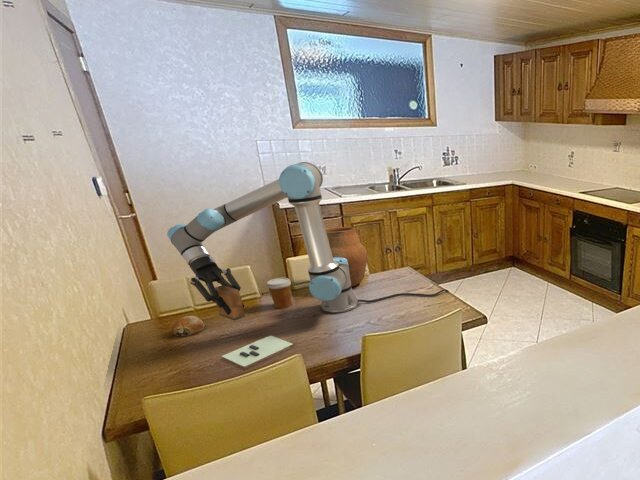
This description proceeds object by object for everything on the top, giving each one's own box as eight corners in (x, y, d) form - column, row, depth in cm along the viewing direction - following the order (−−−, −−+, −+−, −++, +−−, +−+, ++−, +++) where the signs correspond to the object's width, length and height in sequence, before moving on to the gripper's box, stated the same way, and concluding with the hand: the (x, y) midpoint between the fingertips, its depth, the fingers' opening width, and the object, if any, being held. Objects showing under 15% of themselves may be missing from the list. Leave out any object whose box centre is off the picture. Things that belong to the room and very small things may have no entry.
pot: (365, 274, 236) (358, 220, 225) (376, 288, 217) (368, 230, 206) (317, 281, 223) (307, 226, 213) (324, 297, 205) (314, 236, 194)
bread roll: (208, 337, 174) (212, 318, 174) (181, 338, 164) (185, 317, 164) (191, 333, 177) (195, 314, 177) (164, 334, 167) (168, 313, 167)
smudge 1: (243, 352, 154) (242, 351, 154) (249, 355, 152) (249, 354, 152) (239, 354, 153) (239, 353, 153) (246, 357, 151) (246, 355, 151)
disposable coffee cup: (284, 310, 190) (279, 285, 186) (266, 308, 192) (260, 283, 188) (299, 302, 199) (295, 278, 195) (282, 300, 201) (277, 276, 196)
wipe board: (271, 337, 167) (270, 335, 166) (294, 346, 161) (293, 343, 160) (221, 359, 152) (221, 356, 152) (245, 369, 146) (244, 366, 145)
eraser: (230, 311, 165) (223, 284, 161) (245, 316, 161) (238, 289, 157) (219, 315, 162) (211, 288, 158) (234, 320, 158) (227, 293, 154)
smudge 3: (253, 352, 154) (252, 350, 154) (259, 355, 153) (259, 353, 152) (249, 353, 153) (249, 352, 153) (256, 356, 152) (255, 355, 151)
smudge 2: (252, 346, 158) (252, 344, 158) (259, 348, 157) (258, 347, 156) (249, 347, 157) (248, 346, 157) (255, 350, 156) (255, 348, 155)
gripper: (222, 260, 169) (256, 307, 168) (172, 273, 155) (209, 324, 154) (226, 249, 165) (261, 297, 164) (175, 262, 151) (213, 314, 150)
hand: (236, 310), depth 159 cm, fingers closed on eraser, 4 cm apart
